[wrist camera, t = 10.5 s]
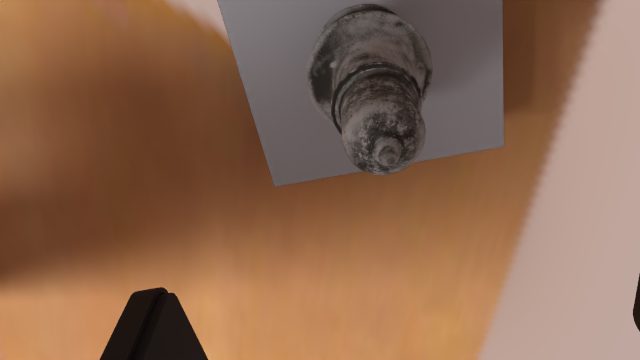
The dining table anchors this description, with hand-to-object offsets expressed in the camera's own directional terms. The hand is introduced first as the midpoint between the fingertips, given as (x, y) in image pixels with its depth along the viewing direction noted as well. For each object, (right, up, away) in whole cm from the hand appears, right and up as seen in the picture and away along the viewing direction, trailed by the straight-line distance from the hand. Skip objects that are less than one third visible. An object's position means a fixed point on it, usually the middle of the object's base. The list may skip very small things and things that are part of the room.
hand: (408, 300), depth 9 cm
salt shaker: (+1, +9, +15) cm, 18 cm away
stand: (+1, +11, +18) cm, 22 cm away
